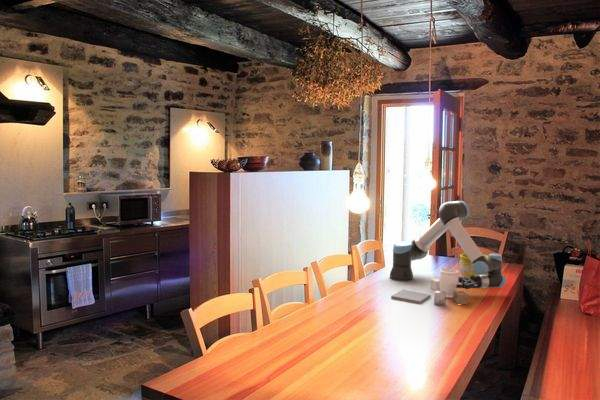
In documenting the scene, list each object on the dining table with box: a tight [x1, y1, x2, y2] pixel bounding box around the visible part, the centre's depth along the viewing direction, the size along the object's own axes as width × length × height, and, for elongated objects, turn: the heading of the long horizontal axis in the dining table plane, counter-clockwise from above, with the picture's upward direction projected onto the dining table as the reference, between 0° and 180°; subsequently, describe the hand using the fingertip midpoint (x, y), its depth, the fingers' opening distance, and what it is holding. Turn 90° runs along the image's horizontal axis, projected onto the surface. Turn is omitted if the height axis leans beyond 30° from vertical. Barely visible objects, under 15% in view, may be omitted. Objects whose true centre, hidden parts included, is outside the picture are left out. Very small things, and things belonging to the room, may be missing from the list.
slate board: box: [390, 289, 432, 305], centre depth 285 cm, size 16×17×2 cm
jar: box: [438, 268, 460, 299], centre depth 289 cm, size 11×10×15 cm
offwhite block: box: [429, 278, 440, 292], centre depth 303 cm, size 6×6×6 cm
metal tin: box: [433, 290, 447, 307], centre depth 273 cm, size 6×6×7 cm
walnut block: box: [452, 290, 470, 305], centre depth 276 cm, size 6×6×6 cm
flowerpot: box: [459, 252, 489, 279], centre depth 324 cm, size 18×18×16 cm
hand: (444, 282), depth 288 cm, fingers open, 13 cm apart
